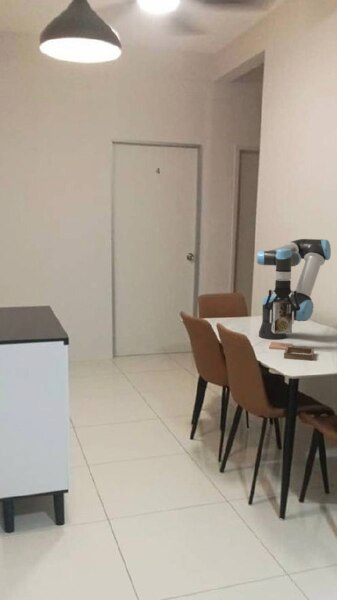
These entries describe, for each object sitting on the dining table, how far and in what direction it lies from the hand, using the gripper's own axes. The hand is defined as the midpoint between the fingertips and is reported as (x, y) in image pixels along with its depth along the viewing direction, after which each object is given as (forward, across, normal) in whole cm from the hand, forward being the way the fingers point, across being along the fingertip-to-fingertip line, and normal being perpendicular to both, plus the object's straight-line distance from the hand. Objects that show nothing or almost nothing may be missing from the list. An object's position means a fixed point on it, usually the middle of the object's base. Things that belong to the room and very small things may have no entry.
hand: (281, 323), depth 263 cm
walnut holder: (+13, +10, -15) cm, 22 cm away
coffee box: (+5, 0, 0) cm, 5 cm away
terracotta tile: (+13, 0, 0) cm, 13 cm away
